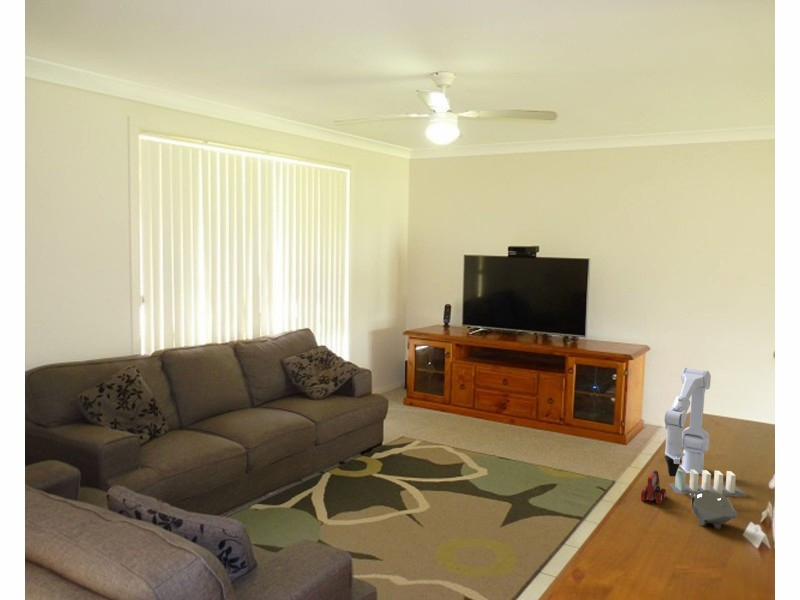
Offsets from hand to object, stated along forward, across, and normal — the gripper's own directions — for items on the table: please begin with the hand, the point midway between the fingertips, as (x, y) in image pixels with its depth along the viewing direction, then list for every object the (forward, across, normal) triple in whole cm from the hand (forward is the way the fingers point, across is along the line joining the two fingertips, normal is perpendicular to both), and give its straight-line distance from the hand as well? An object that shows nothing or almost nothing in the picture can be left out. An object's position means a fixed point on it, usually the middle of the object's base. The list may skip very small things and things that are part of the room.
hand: (672, 475), depth 250 cm
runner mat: (+5, +1, -13) cm, 14 cm away
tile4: (+5, +2, -17) cm, 18 cm away
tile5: (+5, +2, -22) cm, 22 cm away
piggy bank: (+6, -29, -7) cm, 31 cm away
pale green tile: (+5, 0, -3) cm, 6 cm away
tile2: (+5, +1, -8) cm, 10 cm away
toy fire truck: (+6, -12, +9) cm, 16 cm away
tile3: (+5, +1, -13) cm, 14 cm away
